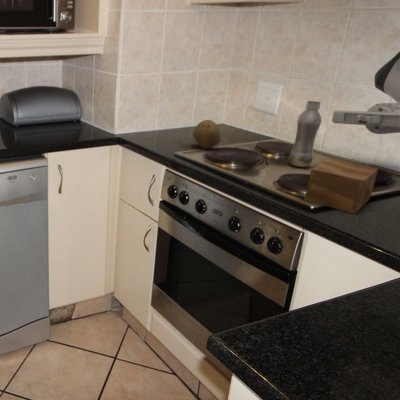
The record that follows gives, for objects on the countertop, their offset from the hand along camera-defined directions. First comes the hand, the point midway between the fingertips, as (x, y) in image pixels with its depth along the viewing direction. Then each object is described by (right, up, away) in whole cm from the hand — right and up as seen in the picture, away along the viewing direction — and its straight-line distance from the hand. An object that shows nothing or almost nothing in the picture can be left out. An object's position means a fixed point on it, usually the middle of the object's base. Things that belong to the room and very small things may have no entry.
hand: (362, 119), depth 129 cm
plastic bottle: (-6, -11, +21) cm, 24 cm away
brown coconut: (-30, -4, +38) cm, 48 cm away
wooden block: (-10, -22, -5) cm, 24 cm away
